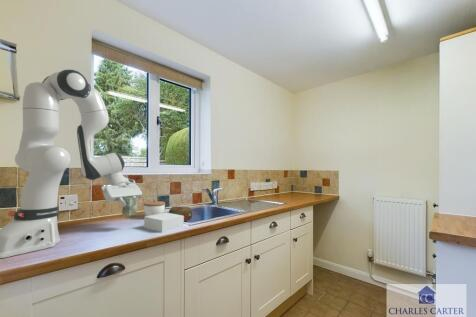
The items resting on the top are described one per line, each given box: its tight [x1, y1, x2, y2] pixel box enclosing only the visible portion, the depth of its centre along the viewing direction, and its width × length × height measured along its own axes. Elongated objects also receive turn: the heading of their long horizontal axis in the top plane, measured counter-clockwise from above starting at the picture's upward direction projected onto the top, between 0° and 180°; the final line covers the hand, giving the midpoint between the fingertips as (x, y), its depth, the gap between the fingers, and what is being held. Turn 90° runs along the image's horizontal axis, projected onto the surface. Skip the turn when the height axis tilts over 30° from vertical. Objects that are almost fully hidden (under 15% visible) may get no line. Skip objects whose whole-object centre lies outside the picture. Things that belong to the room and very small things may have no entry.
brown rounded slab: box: [168, 205, 194, 223], centre depth 134 cm, size 15×3×8 cm, turn 76°
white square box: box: [143, 212, 185, 233], centre depth 118 cm, size 14×14×6 cm
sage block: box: [121, 197, 139, 216], centre depth 114 cm, size 5×5×8 cm
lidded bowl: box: [143, 198, 166, 216], centre depth 141 cm, size 13×13×11 cm
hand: (131, 205), depth 114 cm, fingers closed on sage block, 5 cm apart
